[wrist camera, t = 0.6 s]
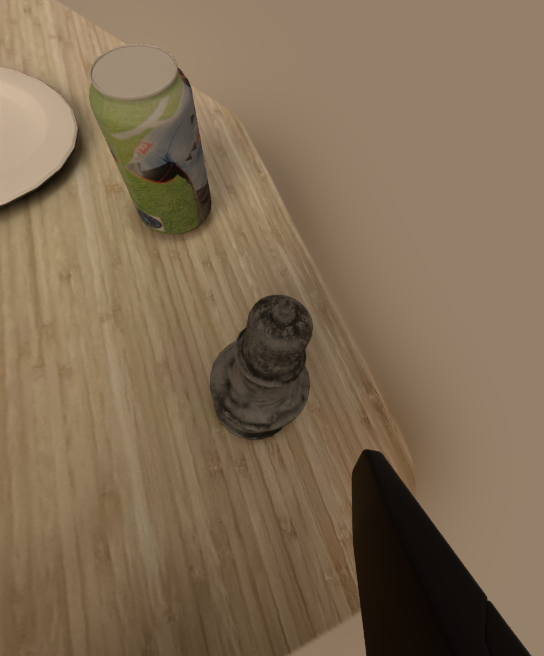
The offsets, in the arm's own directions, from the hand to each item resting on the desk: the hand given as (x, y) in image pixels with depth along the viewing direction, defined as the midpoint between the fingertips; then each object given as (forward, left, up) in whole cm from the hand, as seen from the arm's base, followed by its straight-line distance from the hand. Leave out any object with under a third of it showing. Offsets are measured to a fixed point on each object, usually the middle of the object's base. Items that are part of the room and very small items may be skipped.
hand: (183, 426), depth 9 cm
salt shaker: (+6, -3, -14) cm, 16 cm away
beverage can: (+21, +5, -14) cm, 26 cm away
